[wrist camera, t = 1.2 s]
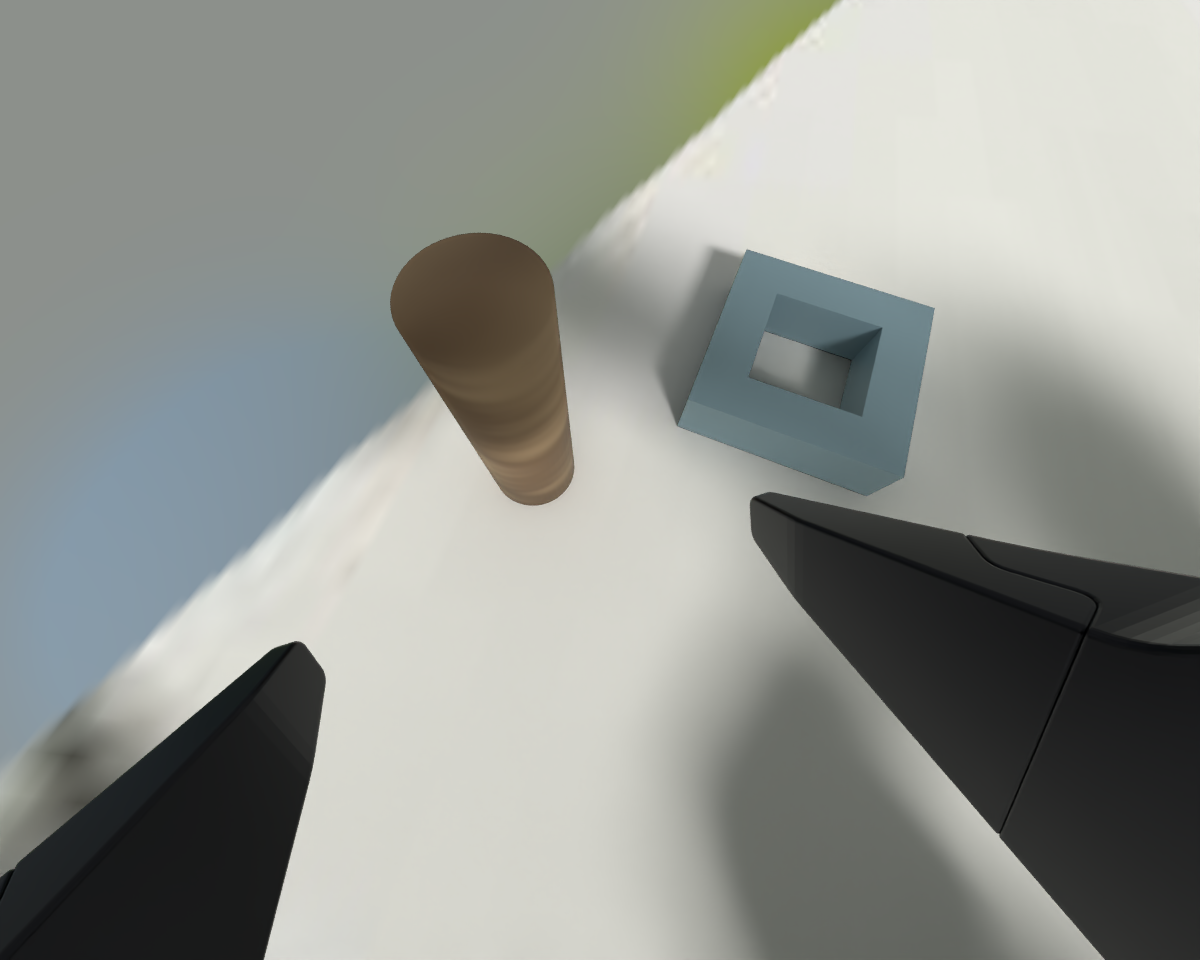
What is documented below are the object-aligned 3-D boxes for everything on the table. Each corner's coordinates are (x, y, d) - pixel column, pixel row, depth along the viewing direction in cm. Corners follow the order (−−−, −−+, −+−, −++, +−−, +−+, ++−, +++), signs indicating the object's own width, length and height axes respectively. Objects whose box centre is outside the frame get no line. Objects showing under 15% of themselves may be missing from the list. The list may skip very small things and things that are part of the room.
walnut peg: (586, 448, 24) (579, 260, 12) (554, 517, 23) (509, 386, 11) (516, 420, 25) (441, 215, 13) (480, 487, 23) (358, 328, 11)
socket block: (899, 338, 27) (935, 304, 24) (866, 496, 24) (903, 477, 21) (732, 284, 28) (748, 245, 26) (677, 426, 25) (687, 399, 22)
